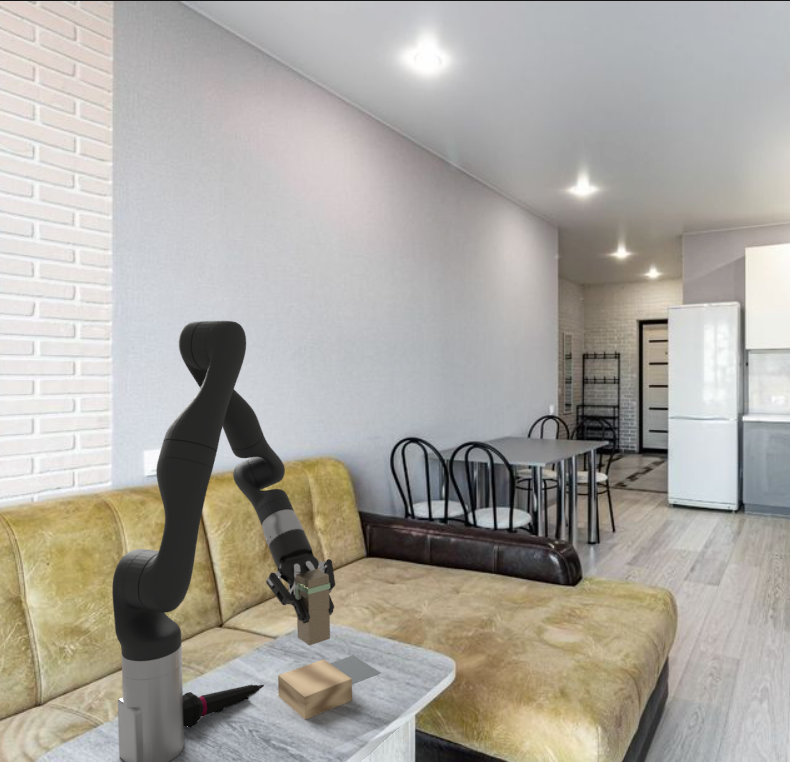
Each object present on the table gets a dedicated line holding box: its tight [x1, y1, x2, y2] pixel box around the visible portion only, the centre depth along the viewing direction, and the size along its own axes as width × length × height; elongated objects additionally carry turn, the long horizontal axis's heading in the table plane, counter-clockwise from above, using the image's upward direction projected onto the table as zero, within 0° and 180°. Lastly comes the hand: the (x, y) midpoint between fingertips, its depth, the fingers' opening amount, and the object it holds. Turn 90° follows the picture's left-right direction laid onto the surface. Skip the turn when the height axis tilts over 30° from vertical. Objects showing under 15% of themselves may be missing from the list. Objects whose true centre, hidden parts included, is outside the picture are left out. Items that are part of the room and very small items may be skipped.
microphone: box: [183, 684, 265, 728], centre depth 117 cm, size 6×6×20 cm
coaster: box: [329, 654, 382, 685], centre depth 128 cm, size 10×10×1 cm
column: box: [296, 569, 331, 646], centre depth 117 cm, size 5×5×12 cm
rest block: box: [277, 659, 353, 720], centre depth 118 cm, size 10×10×5 cm
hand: (318, 617), depth 116 cm, fingers closed on column, 4 cm apart
